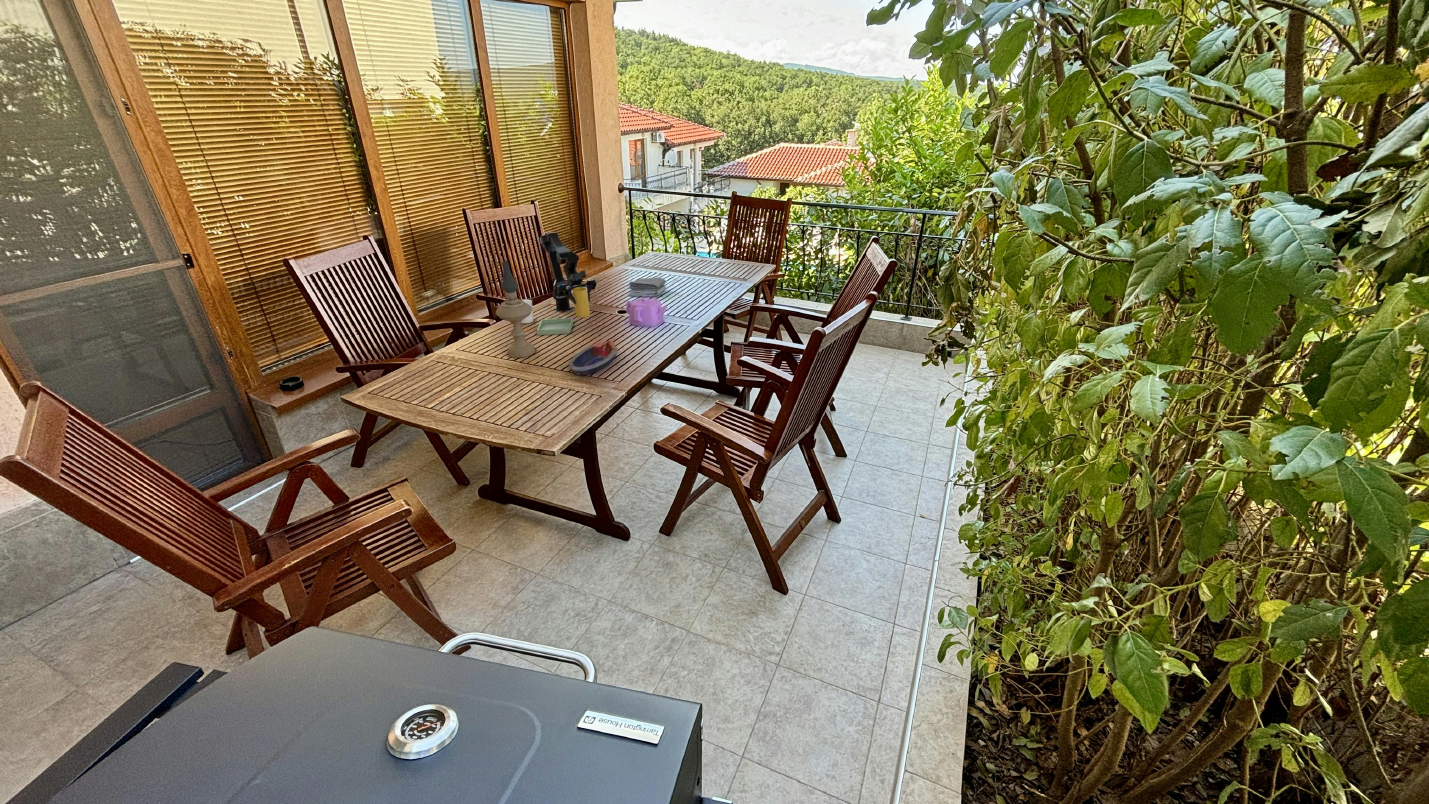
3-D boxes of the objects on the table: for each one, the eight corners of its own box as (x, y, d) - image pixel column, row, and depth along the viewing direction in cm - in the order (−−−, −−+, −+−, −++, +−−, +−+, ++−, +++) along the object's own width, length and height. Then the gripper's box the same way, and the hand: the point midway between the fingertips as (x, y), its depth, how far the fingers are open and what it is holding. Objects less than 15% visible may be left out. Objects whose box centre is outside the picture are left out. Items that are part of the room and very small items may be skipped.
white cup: (537, 318, 302) (534, 299, 298) (531, 324, 295) (528, 304, 291) (522, 318, 303) (518, 299, 298) (516, 323, 296) (512, 304, 291)
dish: (559, 376, 239) (557, 364, 237) (598, 348, 264) (596, 337, 262) (593, 380, 234) (591, 369, 232) (629, 352, 260) (628, 341, 257)
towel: (659, 297, 329) (658, 283, 326) (627, 296, 333) (626, 282, 329) (666, 289, 342) (666, 276, 339) (636, 288, 346) (635, 275, 342)
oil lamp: (496, 356, 258) (477, 265, 240) (518, 344, 271) (501, 256, 252) (526, 360, 254) (508, 267, 235) (546, 348, 266) (531, 258, 248)
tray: (542, 324, 295) (541, 319, 293) (573, 322, 296) (572, 317, 295) (537, 335, 281) (536, 330, 280) (569, 333, 282) (569, 328, 281)
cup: (584, 312, 292) (581, 286, 286) (593, 314, 288) (589, 288, 282) (573, 315, 287) (569, 289, 281) (582, 318, 283) (578, 291, 277)
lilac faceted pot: (625, 319, 297) (623, 295, 292) (657, 314, 303) (656, 291, 298) (635, 330, 283) (633, 305, 278) (669, 325, 289) (667, 300, 284)
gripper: (554, 268, 275) (565, 297, 272) (593, 262, 284) (604, 290, 280) (552, 281, 285) (562, 309, 282) (589, 275, 293) (599, 302, 290)
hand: (582, 302), depth 283 cm, fingers closed on cup, 6 cm apart
